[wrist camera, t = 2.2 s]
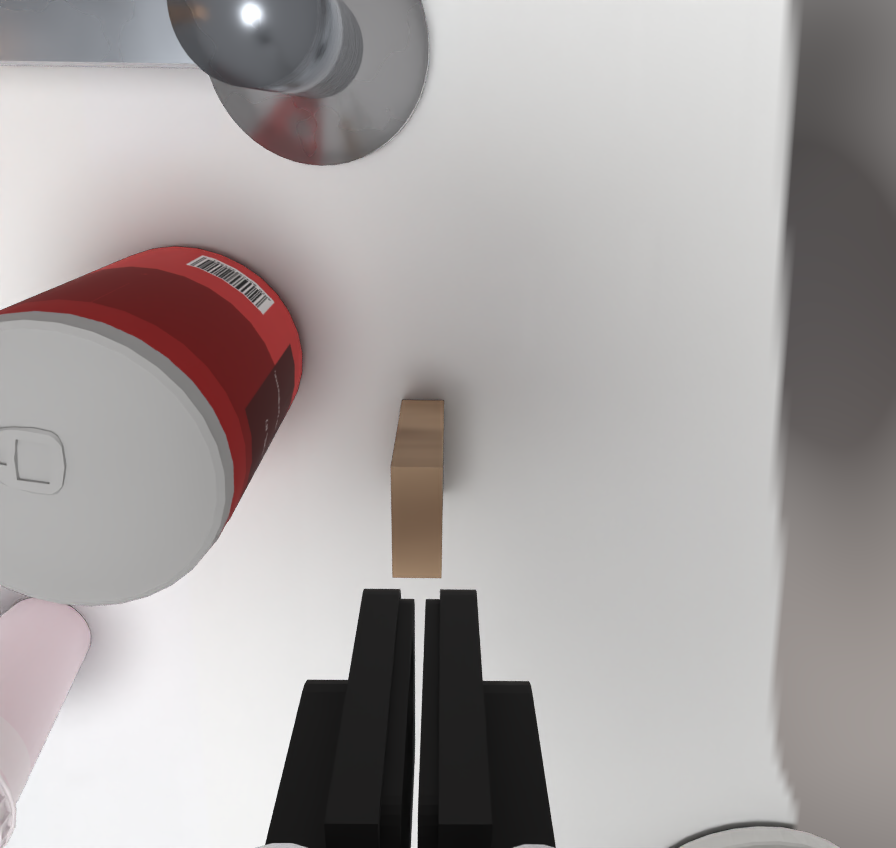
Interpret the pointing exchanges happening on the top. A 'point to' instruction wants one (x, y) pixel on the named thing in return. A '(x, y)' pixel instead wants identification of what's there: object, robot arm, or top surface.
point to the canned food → (135, 421)
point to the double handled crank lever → (193, 39)
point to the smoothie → (33, 688)
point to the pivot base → (345, 93)
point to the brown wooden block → (417, 490)
